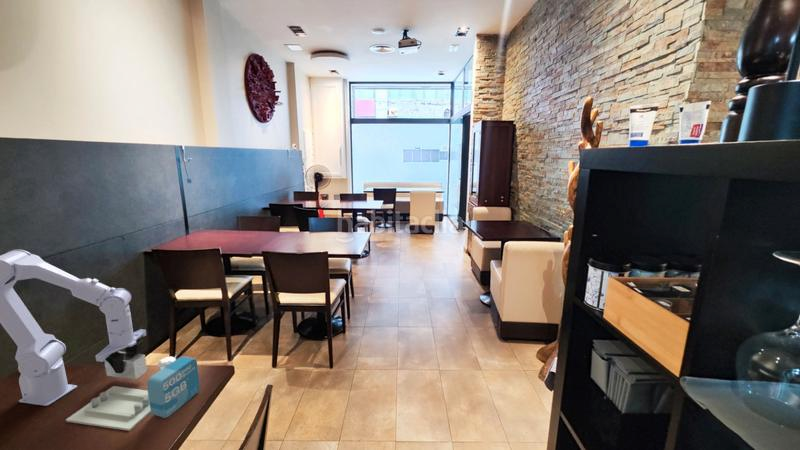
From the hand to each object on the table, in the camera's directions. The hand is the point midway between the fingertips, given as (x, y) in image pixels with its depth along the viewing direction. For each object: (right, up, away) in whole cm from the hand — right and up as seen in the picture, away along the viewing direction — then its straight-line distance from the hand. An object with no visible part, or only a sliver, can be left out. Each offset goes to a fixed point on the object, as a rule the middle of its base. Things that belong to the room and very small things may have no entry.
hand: (126, 367), depth 101 cm
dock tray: (+7, -7, -10) cm, 14 cm away
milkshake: (+14, -5, +1) cm, 15 cm away
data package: (+21, -8, -7) cm, 23 cm away
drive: (0, -2, 0) cm, 2 cm away
